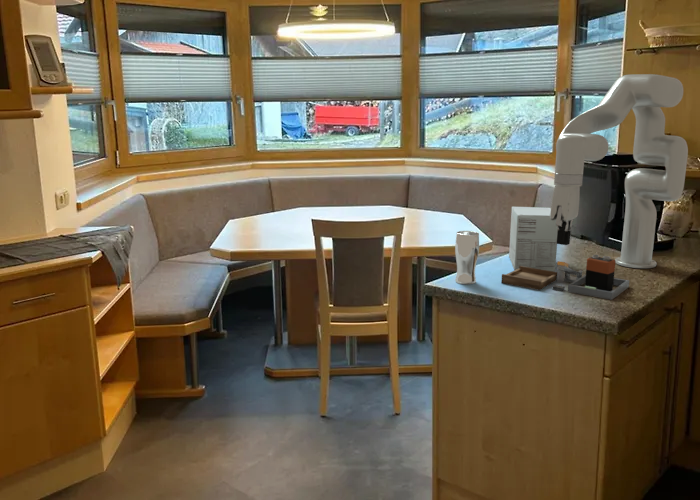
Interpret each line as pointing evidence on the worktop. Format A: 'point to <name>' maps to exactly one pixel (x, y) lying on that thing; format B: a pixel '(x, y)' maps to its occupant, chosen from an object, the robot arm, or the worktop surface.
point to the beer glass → (466, 256)
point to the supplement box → (533, 238)
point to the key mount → (568, 280)
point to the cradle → (592, 291)
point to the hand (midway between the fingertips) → (563, 243)
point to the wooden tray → (530, 278)
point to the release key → (565, 268)
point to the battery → (600, 272)
